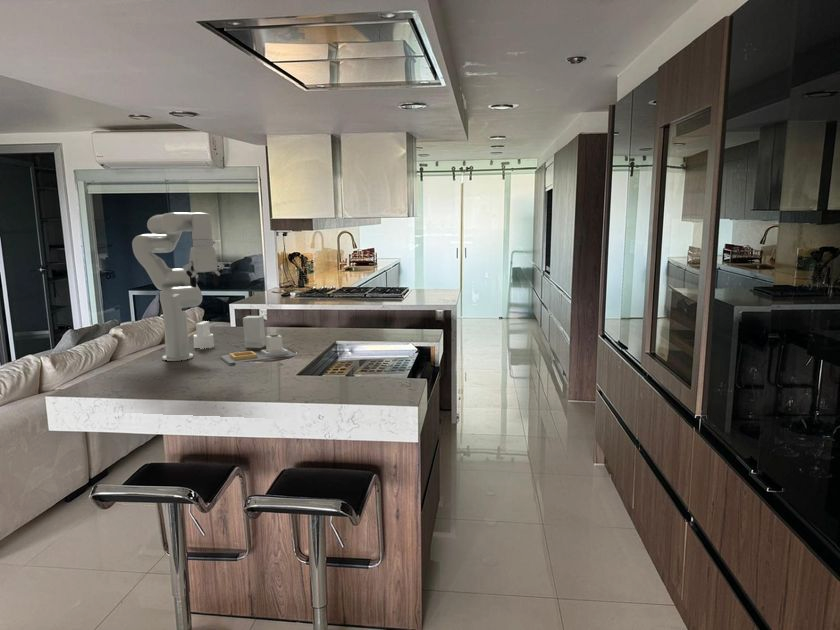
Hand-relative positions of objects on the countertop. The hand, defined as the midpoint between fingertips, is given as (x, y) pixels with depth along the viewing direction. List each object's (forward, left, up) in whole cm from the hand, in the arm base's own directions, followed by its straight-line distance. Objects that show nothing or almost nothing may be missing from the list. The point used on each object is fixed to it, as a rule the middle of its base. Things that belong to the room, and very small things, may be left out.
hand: (205, 286), depth 233 cm
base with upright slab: (-42, +7, -34) cm, 54 cm away
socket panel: (-6, +23, -34) cm, 41 cm away
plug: (-6, +30, -33) cm, 44 cm away
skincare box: (-26, +27, -34) cm, 50 cm away
